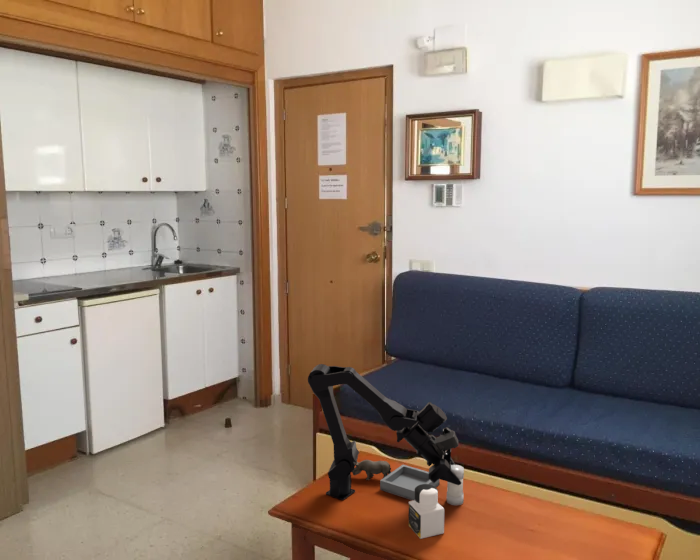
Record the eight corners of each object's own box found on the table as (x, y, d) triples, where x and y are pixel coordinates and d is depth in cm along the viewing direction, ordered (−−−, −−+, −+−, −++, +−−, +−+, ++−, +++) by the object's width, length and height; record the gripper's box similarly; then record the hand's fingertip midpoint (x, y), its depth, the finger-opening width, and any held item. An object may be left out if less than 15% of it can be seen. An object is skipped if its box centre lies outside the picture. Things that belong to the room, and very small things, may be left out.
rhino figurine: (349, 473, 203) (349, 455, 202) (392, 476, 201) (392, 458, 200) (347, 479, 199) (346, 461, 198) (391, 482, 197) (391, 464, 196)
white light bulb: (458, 507, 182) (459, 473, 180) (443, 502, 185) (443, 469, 183) (466, 500, 186) (466, 467, 184) (451, 495, 189) (451, 463, 187)
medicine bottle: (408, 525, 173) (408, 484, 171) (431, 520, 175) (431, 479, 173) (420, 539, 166) (420, 496, 164) (444, 533, 169) (444, 491, 167)
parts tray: (417, 502, 185) (417, 492, 185) (380, 489, 193) (380, 480, 192) (439, 484, 196) (439, 475, 195) (402, 473, 203) (402, 464, 203)
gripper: (441, 436, 173) (482, 477, 173) (442, 411, 191) (479, 448, 191) (411, 462, 176) (452, 502, 176) (415, 435, 194) (452, 471, 194)
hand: (460, 479), depth 184 cm, fingers closed on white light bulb, 5 cm apart
